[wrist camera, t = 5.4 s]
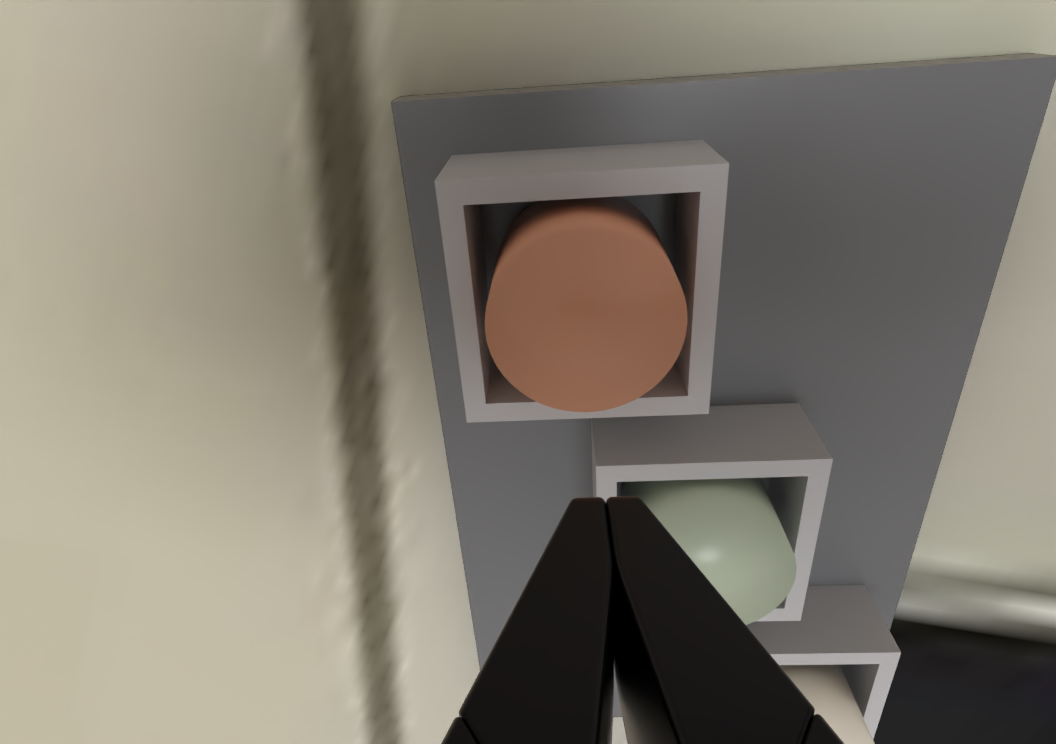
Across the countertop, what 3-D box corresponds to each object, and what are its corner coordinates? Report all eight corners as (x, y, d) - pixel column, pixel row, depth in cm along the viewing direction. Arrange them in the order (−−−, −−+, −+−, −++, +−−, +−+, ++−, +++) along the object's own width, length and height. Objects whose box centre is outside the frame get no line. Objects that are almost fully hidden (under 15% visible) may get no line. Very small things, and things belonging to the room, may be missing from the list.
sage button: (770, 438, 18) (807, 513, 15) (754, 547, 20) (785, 630, 17) (621, 443, 18) (633, 517, 15) (620, 550, 20) (631, 633, 17)
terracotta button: (667, 183, 14) (693, 222, 12) (662, 344, 16) (682, 408, 14) (488, 193, 15) (474, 234, 12) (503, 351, 17) (494, 415, 14)
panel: (1031, 53, 14) (1160, 65, 11) (853, 690, 25) (894, 785, 22) (400, 96, 15) (361, 118, 12) (490, 694, 26) (481, 786, 23)
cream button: (853, 641, 20) (898, 737, 17) (832, 721, 22) (870, 818, 19) (720, 643, 20) (745, 738, 18) (711, 722, 22) (732, 817, 20)
